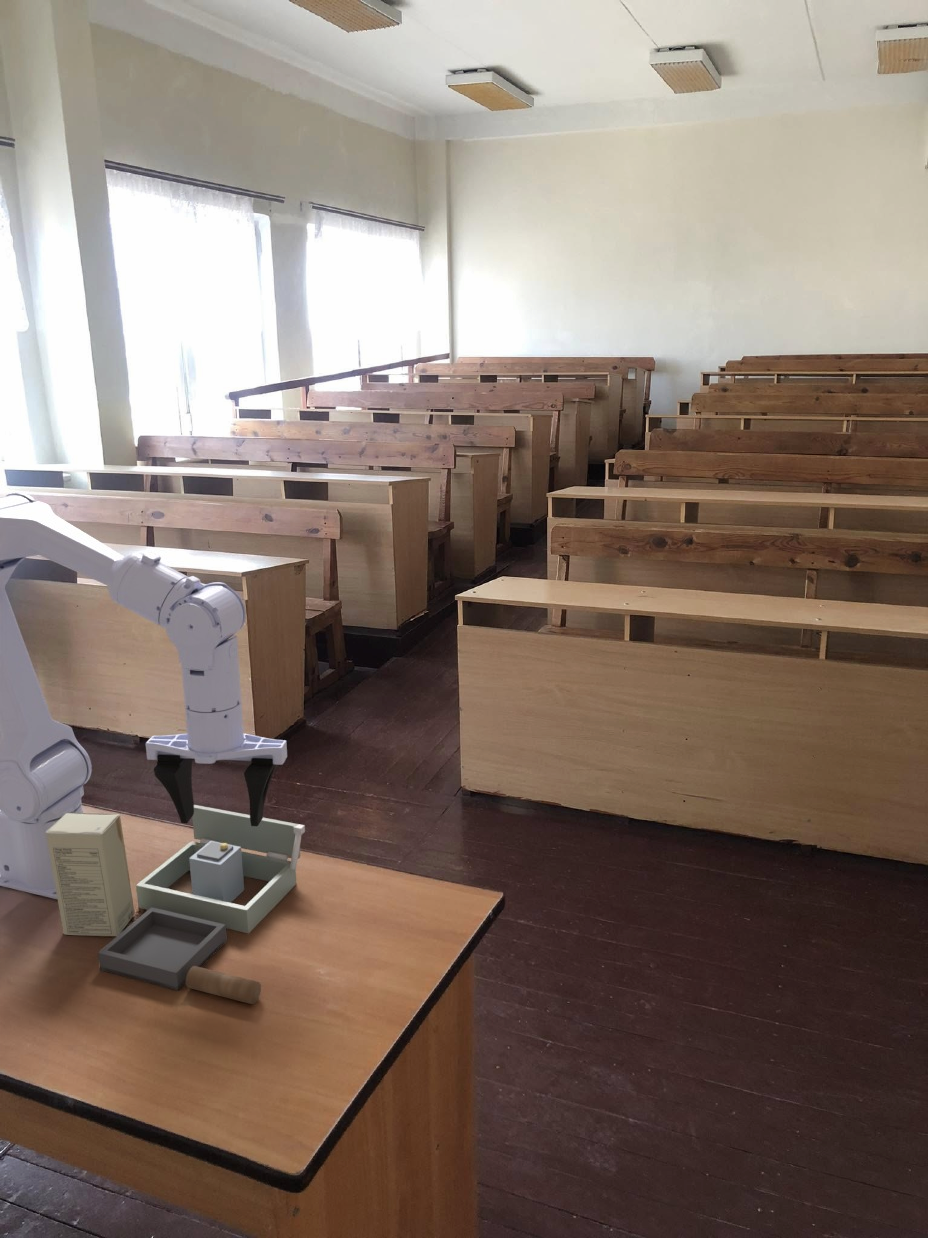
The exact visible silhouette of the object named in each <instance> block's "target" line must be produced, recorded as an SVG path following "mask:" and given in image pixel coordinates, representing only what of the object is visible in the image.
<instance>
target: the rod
mask: <svg viewBox="0 0 928 1238" xmlns="http://www.w3.org/2000/svg"><path fill="white" fill-rule="evenodd" d="M185 986H186V987H187V988H189V989H192V990H196V991H199V992H204V993H207V994H211V995H215V996H219V997H223V998H226V999H230V1000H234V1001H238V1002H241V1003H245V1004H250V1005H255V1004H256V1002H257V1001H258V1000H259V998H260V995H261V990H262V984H261V983H260V982H259V981H255V980H252V979H248V978H243V977H240V976H237V975H233V974H229V973H226V972H225V973H224V972H222V971H221V972H220V971H217V970H212V969H210V968H206V967H205V968H204V967H197V966H193V967H192V968H191V969H190V970H189V972H188V974H187V976H186V983H185Z"/></svg>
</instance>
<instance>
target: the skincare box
mask: <svg viewBox="0 0 928 1238" xmlns="http://www.w3.org/2000/svg"><path fill="white" fill-rule="evenodd" d="M46 837H47V842H48V848H49V853H50V859H51V865H52V870H53V876H54V882H55V887H56V893H57V899H56V900H57V903H58V909H59V915H60V921H61V925H62V926H61V927H62V932H63V935H65V936H66V935H70V936H93V937H97V936H98V937H117V936H118V935H119V934H120V933H121V932H123V931H124V930H125V929H126V926H127V925H128V924H129V923H130V921H131V920H132V918H133V917H134V915H135V913H136V912H135V907H134V899H133V898H134V897H133V893H132V887H131V882H130V881H131V879H130V873H129V866H128V860H127V853H126V845H125V840H124V839H125V838H124V833H123V826H122V820H121V815H120V813H94V812H93V813H90V812H87V813H86V812H85V813H84V812H83V813H66V814H65V815H64V816H63V817H62V818H60V819H59V820H58V821H57V822H56V823H55V824H54V825H53V826H52V827H50V828H49V829H48V830H47V831H46Z"/></svg>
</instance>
